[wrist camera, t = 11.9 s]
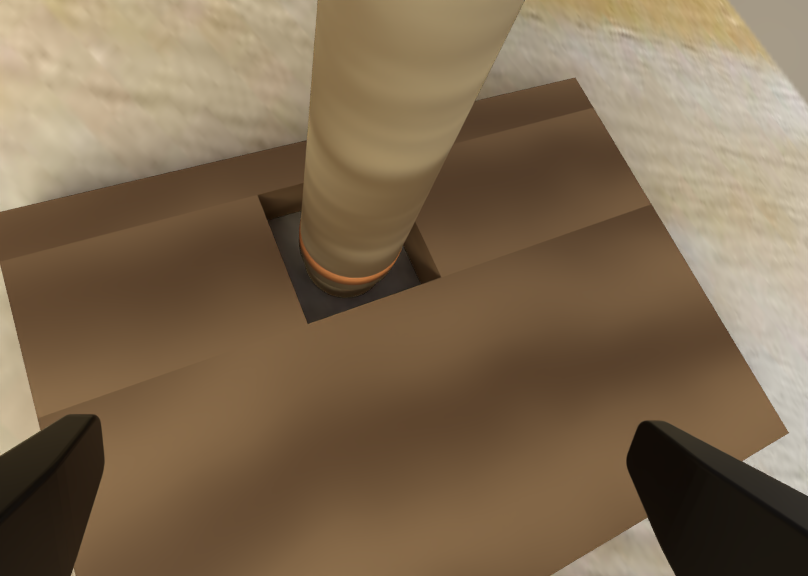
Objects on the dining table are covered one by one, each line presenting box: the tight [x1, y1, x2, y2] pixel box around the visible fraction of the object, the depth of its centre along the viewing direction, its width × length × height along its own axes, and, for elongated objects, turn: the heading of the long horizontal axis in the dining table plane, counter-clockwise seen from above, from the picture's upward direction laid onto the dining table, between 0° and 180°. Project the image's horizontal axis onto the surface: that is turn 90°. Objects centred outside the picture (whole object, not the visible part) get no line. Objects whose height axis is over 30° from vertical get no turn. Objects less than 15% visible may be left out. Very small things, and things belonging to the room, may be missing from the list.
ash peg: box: [299, 0, 525, 298], centre depth 13 cm, size 4×3×16 cm
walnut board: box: [0, 78, 789, 576], centre depth 19 cm, size 16×22×2 cm
